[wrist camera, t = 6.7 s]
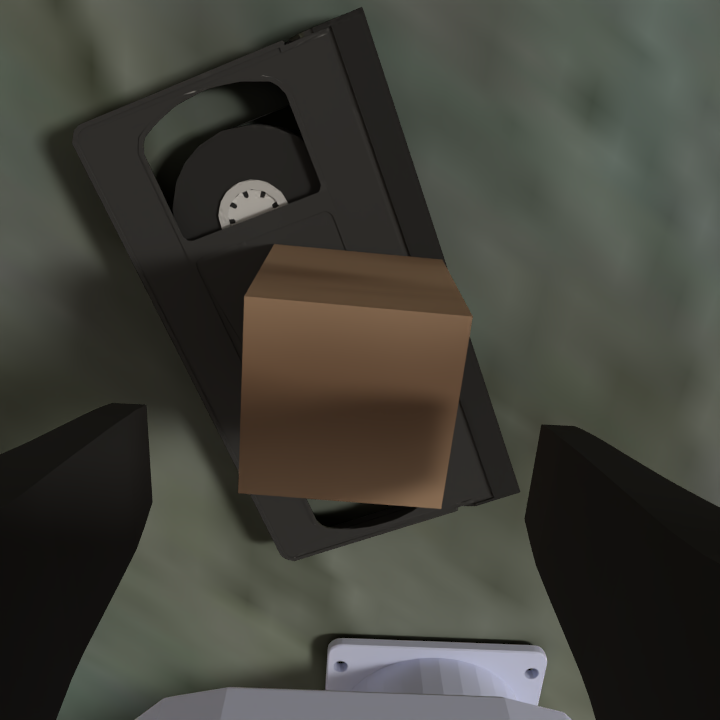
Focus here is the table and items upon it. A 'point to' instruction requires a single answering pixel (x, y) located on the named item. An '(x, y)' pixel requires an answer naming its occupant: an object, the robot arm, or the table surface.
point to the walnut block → (350, 377)
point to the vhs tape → (283, 239)
